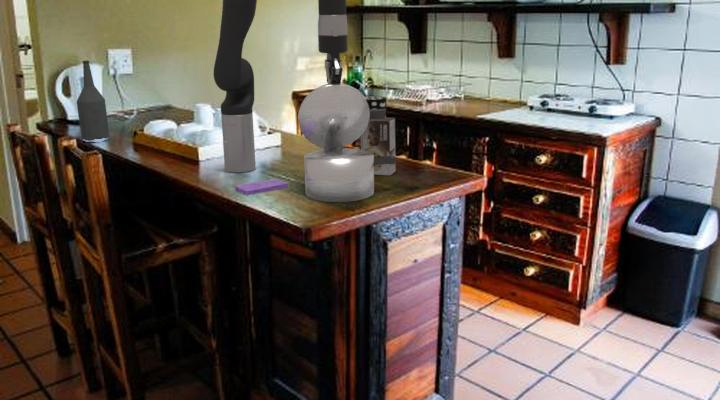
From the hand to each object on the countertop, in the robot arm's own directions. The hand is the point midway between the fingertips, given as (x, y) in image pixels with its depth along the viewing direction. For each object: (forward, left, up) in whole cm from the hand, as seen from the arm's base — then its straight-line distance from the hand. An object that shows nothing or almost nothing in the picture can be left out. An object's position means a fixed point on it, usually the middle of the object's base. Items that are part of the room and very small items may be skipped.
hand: (334, 101), depth 165 cm
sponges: (-20, +2, -24) cm, 31 cm away
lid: (+2, -1, -5) cm, 5 cm away
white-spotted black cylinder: (+17, +28, -23) cm, 40 cm away
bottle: (-78, +88, -23) cm, 120 cm away
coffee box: (+15, +12, -23) cm, 30 cm away
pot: (+3, -7, -23) cm, 24 cm away
